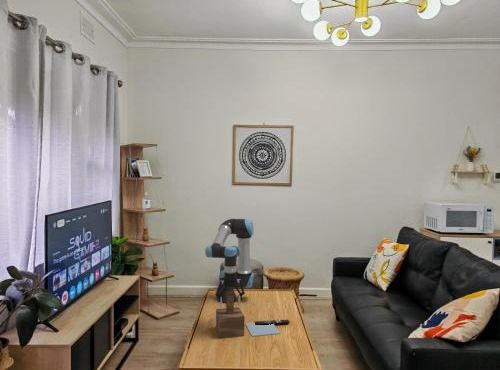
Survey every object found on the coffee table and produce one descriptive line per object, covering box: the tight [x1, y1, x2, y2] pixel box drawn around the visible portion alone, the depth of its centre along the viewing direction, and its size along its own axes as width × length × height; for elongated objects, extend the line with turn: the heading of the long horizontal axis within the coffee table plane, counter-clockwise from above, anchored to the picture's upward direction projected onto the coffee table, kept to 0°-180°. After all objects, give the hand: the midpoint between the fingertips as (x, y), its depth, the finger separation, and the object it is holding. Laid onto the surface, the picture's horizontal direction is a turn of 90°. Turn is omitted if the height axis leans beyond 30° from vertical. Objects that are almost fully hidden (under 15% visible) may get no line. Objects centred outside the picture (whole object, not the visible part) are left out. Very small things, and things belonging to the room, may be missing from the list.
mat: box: [244, 321, 281, 338], centre depth 229 cm, size 18×18×1 cm
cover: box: [215, 290, 245, 339], centre depth 224 cm, size 15×15×26 cm
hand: (230, 306), depth 224 cm, fingers open, 11 cm apart
